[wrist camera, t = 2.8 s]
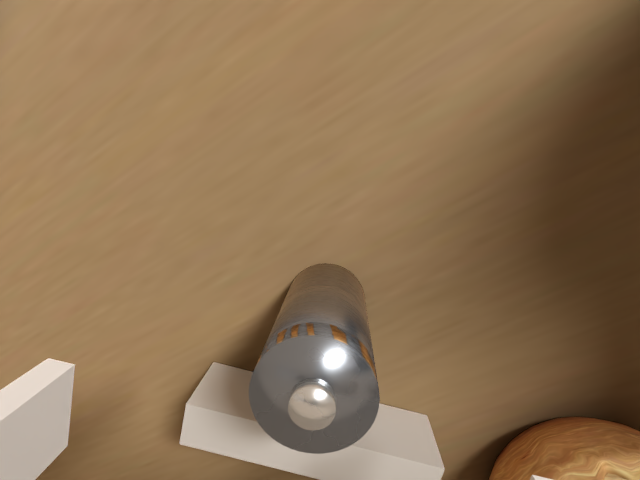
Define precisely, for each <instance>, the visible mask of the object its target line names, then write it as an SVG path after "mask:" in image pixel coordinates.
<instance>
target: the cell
mask: <svg viewBox="0 0 640 480" xmlns="http://www.w3.org/2000/svg"><path fill="white" fill-rule="evenodd" d="M379 400H380V399H379V388H378V382H377V375H376V369H375V362H374V356H373V349H372V342H371V336H370V329H369V323H368V316H367V310H366V303H365V297H364V292H363V289H362V286H361V284H360V282H359V281H358V279H357V278H356V277H355V276H354V275H353V274H352V273H351V272H350V271H348V270H347V269H345V268H343V267H341V266H338V265H334V264H326V263H325V264H317V265H313V266H310V267H308V268H306V269H305V270H303V271H302V272H300V273H299V274H298V275H297V276H296V278H295V279H294V280H293V282H292V284H291V286H290V288H289V291H288V293H287V295H286V298H285V300H284V302H283V305H282V307H281V309H280V312H279V314H278V316H277V318H276V321H275V323H274V325H273V328H272V330H271V332H270V335H269V337H268V339H267V341H266V344H265V346H264V348H263V351H262V353H261V355H260V358H259V360H258V362H257V365H256V367H255V369H254V371H253V374H252V377H251V380H250V385H249V401H250V406H251V409H252V412H253V414H254V417H255V419H256V420H257V422H258V424H259V425H260V426H261V428H262V429H263V430H264V431H265V432H266V433H267V434H268V435H269V436H270V437H271V438H273V439H274V440H275V441H277V442H278V443H280V444H282V445H283V446H286V447H288V448H290V449H293V450H296V451H299V452H304V453H312V454H324V453H331V452H335V451H339V450H342V449H344V448H347V447H349V446H351V445H352V444H354V443H355V442H357V441H358V440H360V439H361V438H362V437H363V436H364V435H365V434H366V433H367V432H368V430H369V429H370V428H371V426H372V424H373V423H374V421H375V418H376V416H377V413H378V409H379Z"/></svg>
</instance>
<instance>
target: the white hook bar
mask: <svg viewBox="0 0 640 480" xmlns="http://www.w3.org/2000/svg"><path fill="white" fill-rule="evenodd" d="M252 374H253V372H252V371H248V370H244V369H240V368H236V367H232V366H228V365H224V364H220V363H216V362H213V363H212V365H211V366H210V368H209V370H208V371H207V373H206V374H205V376H204V377H203V379H202V380H201V382H200V383H199V385H198V386H197V388H196V389H195V391H194V392H193V394H192V396H191V397H190V399H189V400H188V402H187V403H186V407H185V413H184V419H183V425H182V431H181V437H180V443H179V444H181V445H185V446H189V447H193V448H197V449H201V450H205V451H209V452H213V453H217V454H221V455H225V456H229V457H232V458H236V459H240V460H244V461H248V462H252V463H256V464H260V465H264V466H268V467H272V468H276V469H280V470H284V471H288V472H292V473H296V474H300V475H303V476H307V477H311V478H315V479H319V480H441V478H442V475H443V472H444V470H445V468H444V465H443V462H442V459H441V456H440V453H439V450H438V447H437V444H436V441H435V438H434V435H433V432H432V429H431V426H430V423H429V420H428V416H427V415H424V414H420V413H416V412H412V411H408V410H404V409H400V408H396V407H392V406H388V405H384V404H380V403H379V409H378V413H377V416H376V418H375V421H374V423H373V424H372V426H371V428H370V429H369V430H368V432H367V433H366V434H365V435H364V436H363V437H362V438H361V439H360V440H358V441H357V442H355V443H354V444H352V445H351V446H349V447H347V448H344V449H342V450H339V451H335V452H331V453H324V454H312V453H304V452H299V451H296V450H293V449H290V448H288V447H286V446H283V445H282V444H280V443H278V442H277V441H275V440H274V439H273V438H271V437H270V436H269V435H268V434H267V433H266V432H265V431H264V430H263V429H262V428H261V426H260V425H259V424H258V422H257V420H256V419H255V417H254V414H253V412H252V409H251V406H250V401H249V385H250V380H251V377H252Z"/></svg>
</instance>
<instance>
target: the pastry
mask: <svg viewBox="0 0 640 480" xmlns="http://www.w3.org/2000/svg"><path fill="white" fill-rule="evenodd" d="M532 475H536V476H540V477H544V478H548V479H553V480H640V431H637V430H635V429H633V428H630V427H628V426H626V425H623V424H619V423H615V422H611V421H606V420H600V419H595V418H588V417H565V418H556V419H552V420H549V421H546V422H543V423H540V424H537V425H535V426H532V427H530V428H529V429H527V430H526V431H524V432H522V433H521V434H519V435H518V436H517V437H515V438H514V439H513V440H511V442H510V443H509V444H508V445H507V446H506V447H505V448H504V449H503V451H502V452H501V453H500V455H499V456H498V457H497V460H496V462H495V464H494V466H493V469H492V472H491V475H490V478H489V480H530V478H531V476H532Z"/></svg>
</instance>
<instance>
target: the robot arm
mask: <svg viewBox="0 0 640 480" xmlns="http://www.w3.org/2000/svg"><path fill="white" fill-rule="evenodd" d="M74 370H75V364H71V363H66V362H62V361H58V360H54V359H50V358H48V359H46V360H45V361H43V362H42V363H40V364H39V365H37V366H36V367H34V368H33V369H31V370H30V371H28V372H27V373H25V374H24V375H22V376H21V377H19V378H18V379H16V380H15V381H13V382H12V383H10V384H9V385H7V386H6V387H4V388H3V389H1V390H0V480H35V479H36V478H37V477H38V476H39V475H40V474H41V473H42V472H43V471H44V470H45V469H46V468H47V467H48V466H49V465H50V464H51V463H52V462H53V461H54V460H55V459H56V457H57V456H58V455H59V454H60V453H61V452H62V451H63V450H64V449H65V448H66V447H67V446H68V437H69V426H70V415H71V403H72V392H73V381H74ZM530 480H553V479H548V478H544V477H540V476H536V475H532V476H531V478H530Z"/></svg>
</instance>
